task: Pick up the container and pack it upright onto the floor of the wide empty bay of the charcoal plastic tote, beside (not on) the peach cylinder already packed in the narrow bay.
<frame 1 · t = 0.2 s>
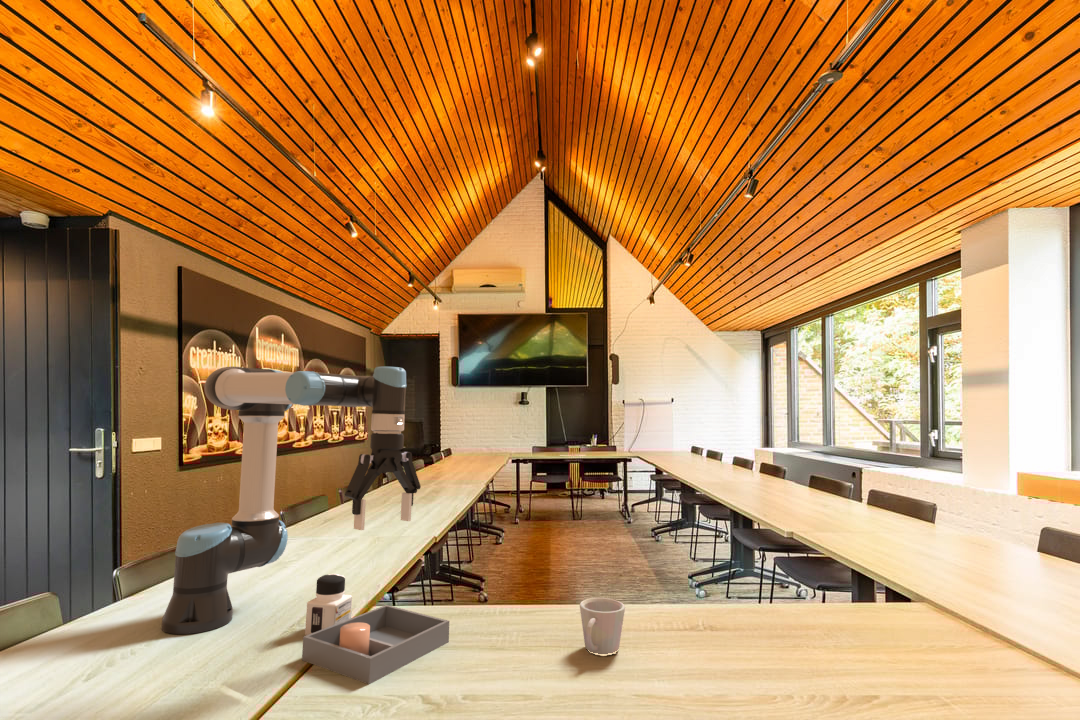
hand: (383, 524, 129), 27 cm above the table, fingers open, 13 cm apart
tote: (378, 654, 123), on the table
peach cylinder: (353, 662, 117), point 1 cm above the table, touching tote
container: (328, 632, 136), on the table
mug: (598, 654, 126), on the table
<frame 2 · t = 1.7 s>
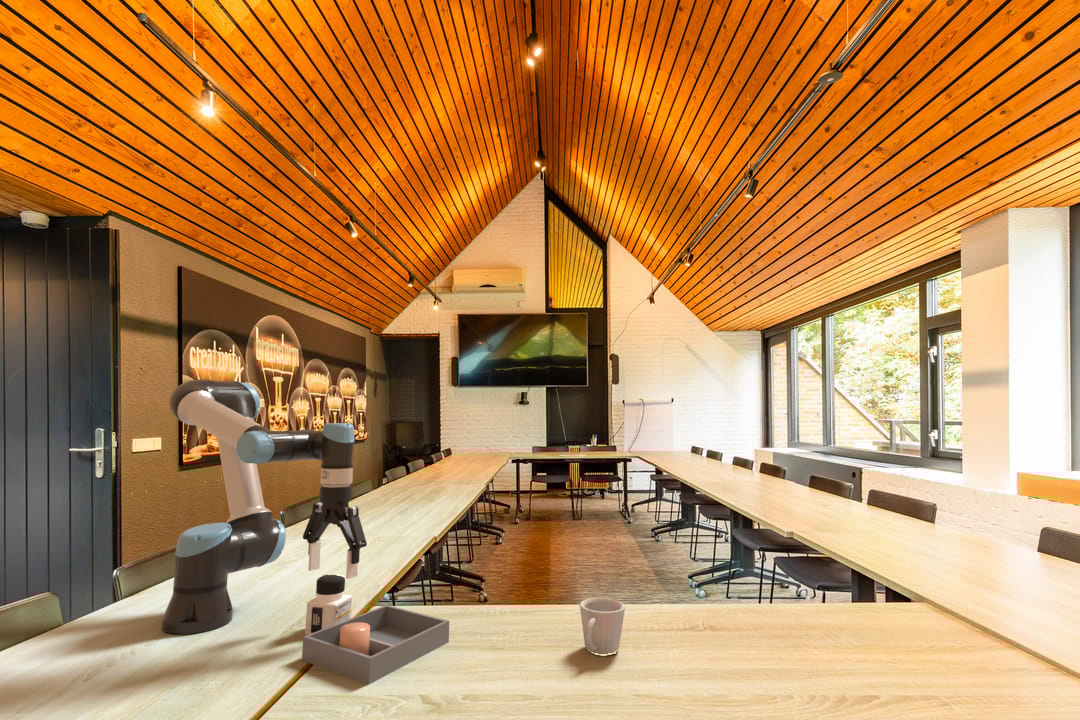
hand: (332, 573, 137), 14 cm above the table, fingers open, 13 cm apart
nothing on the table moved.
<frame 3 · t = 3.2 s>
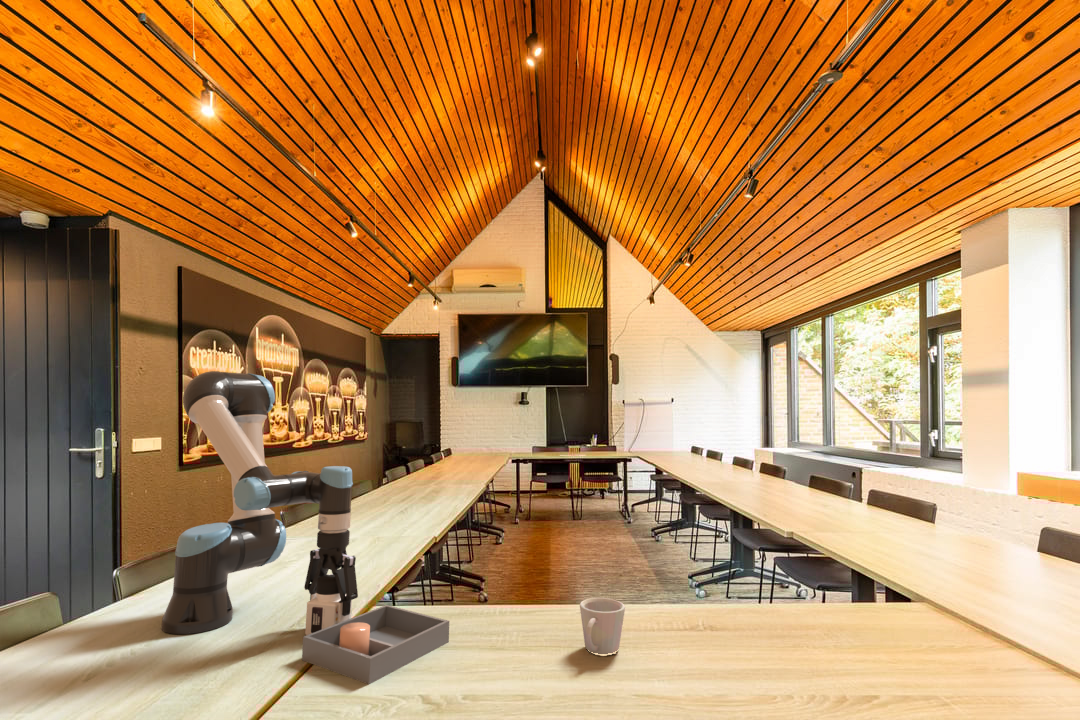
hand: (328, 624, 136), 2 cm above the table, fingers closed on container, 9 cm apart
container: (328, 631, 136), on the table, touching gripper
everything else where it was.
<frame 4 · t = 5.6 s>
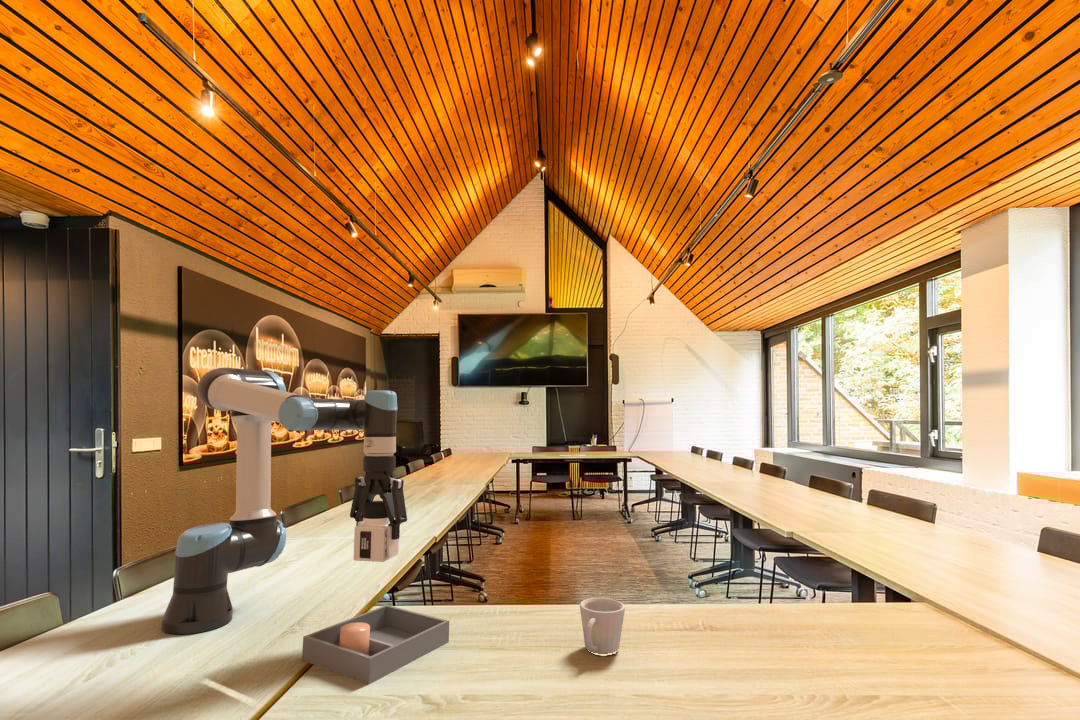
hand: (376, 551, 132), 21 cm above the table, fingers closed on container, 9 cm apart
container: (376, 558, 132), point 19 cm above the table, touching gripper
everything else where it was.
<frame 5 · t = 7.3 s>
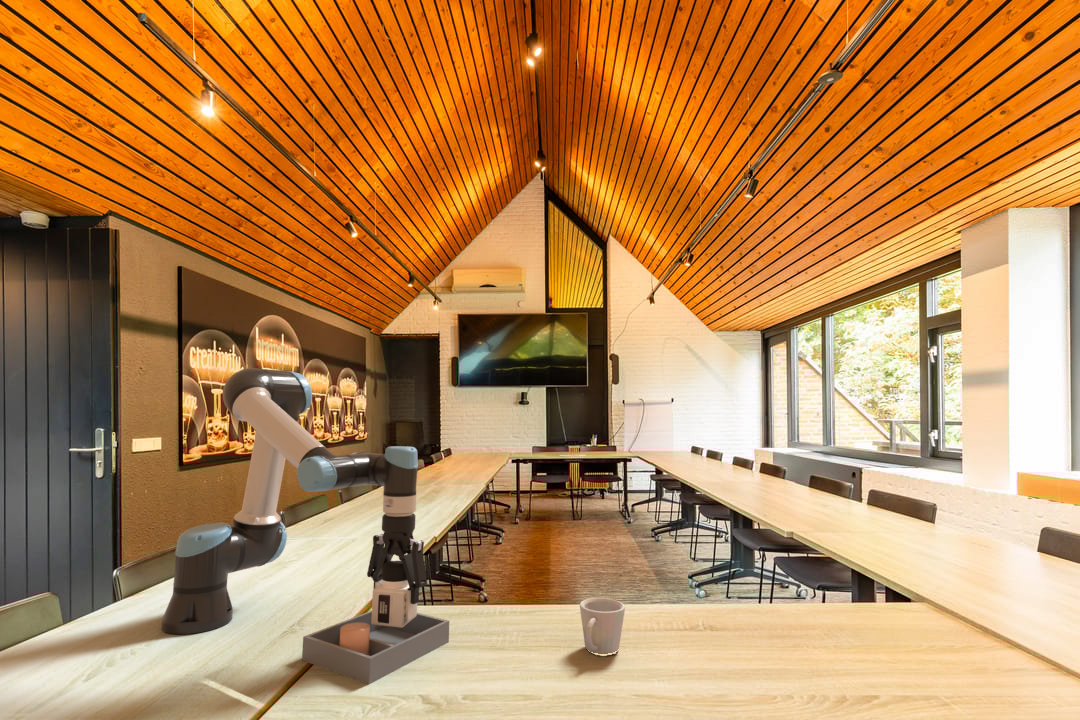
hand: (394, 613, 128), 7 cm above the table, fingers closed on container, 9 cm apart
container: (394, 621, 128), point 6 cm above the table, touching gripper
everything else where it was.
when the fingers open (4 cm above the table, at t = 8.4 s): container drops 2 cm, resting on tote.
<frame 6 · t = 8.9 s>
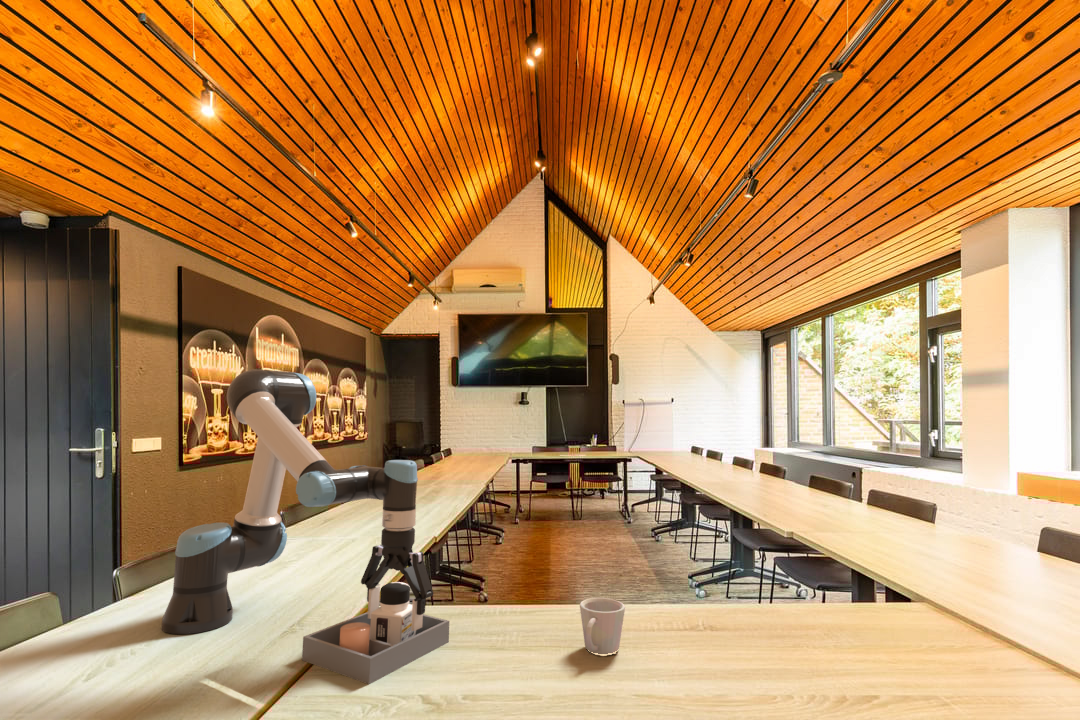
hand: (394, 622, 128), 5 cm above the table, fingers open, 13 cm apart
container: (393, 644, 127), point 1 cm above the table, touching tote
everything else where it was.
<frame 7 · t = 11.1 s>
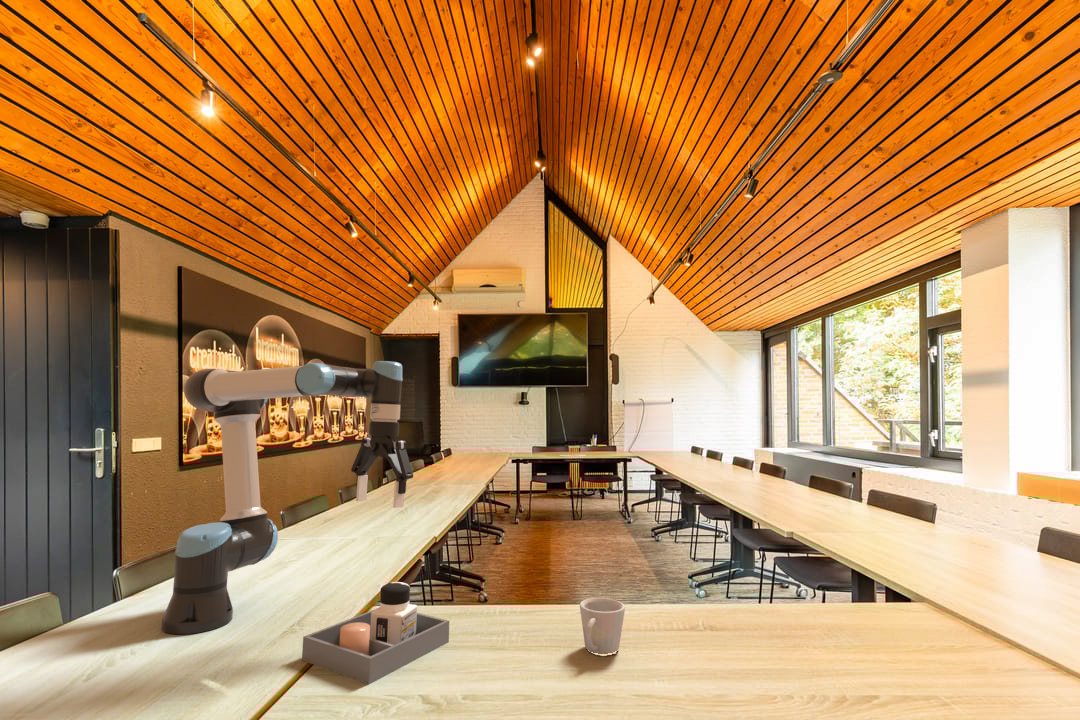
hand: (379, 503, 144), 30 cm above the table, fingers open, 13 cm apart
nothing on the table moved.
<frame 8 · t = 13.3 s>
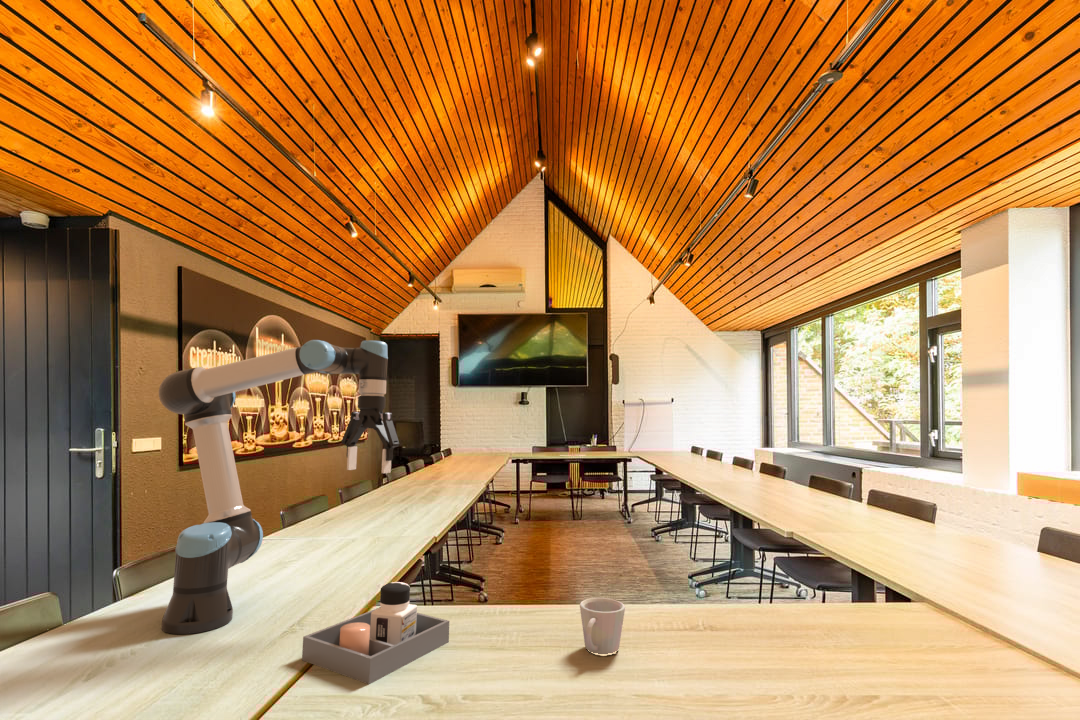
hand: (368, 471, 156), 37 cm above the table, fingers open, 13 cm apart
nothing on the table moved.
at the end: container inside the target area on the tote (0.2 cm from its centre), point 0.6 cm above the tote's base; container tilted 0°; peach cylinder moved 0.1 cm from its start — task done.
